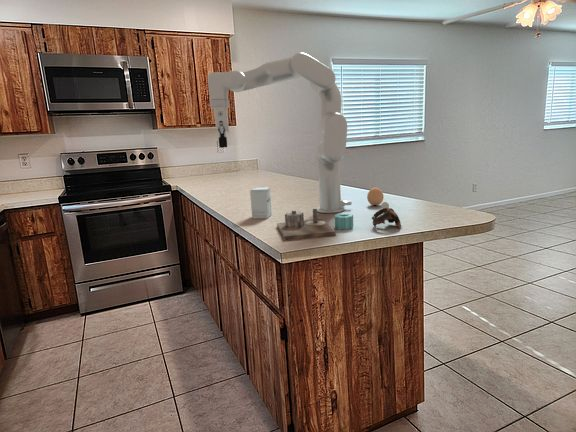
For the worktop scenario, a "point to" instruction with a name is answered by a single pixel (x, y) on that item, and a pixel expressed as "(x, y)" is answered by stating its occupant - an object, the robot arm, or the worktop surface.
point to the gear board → (304, 227)
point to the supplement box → (260, 202)
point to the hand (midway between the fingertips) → (223, 146)
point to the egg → (375, 196)
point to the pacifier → (384, 206)
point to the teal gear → (343, 221)
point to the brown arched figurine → (388, 214)
